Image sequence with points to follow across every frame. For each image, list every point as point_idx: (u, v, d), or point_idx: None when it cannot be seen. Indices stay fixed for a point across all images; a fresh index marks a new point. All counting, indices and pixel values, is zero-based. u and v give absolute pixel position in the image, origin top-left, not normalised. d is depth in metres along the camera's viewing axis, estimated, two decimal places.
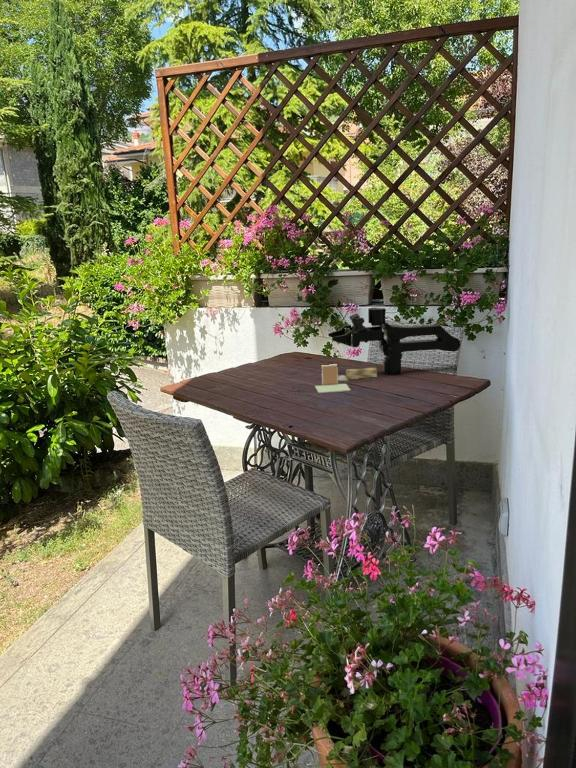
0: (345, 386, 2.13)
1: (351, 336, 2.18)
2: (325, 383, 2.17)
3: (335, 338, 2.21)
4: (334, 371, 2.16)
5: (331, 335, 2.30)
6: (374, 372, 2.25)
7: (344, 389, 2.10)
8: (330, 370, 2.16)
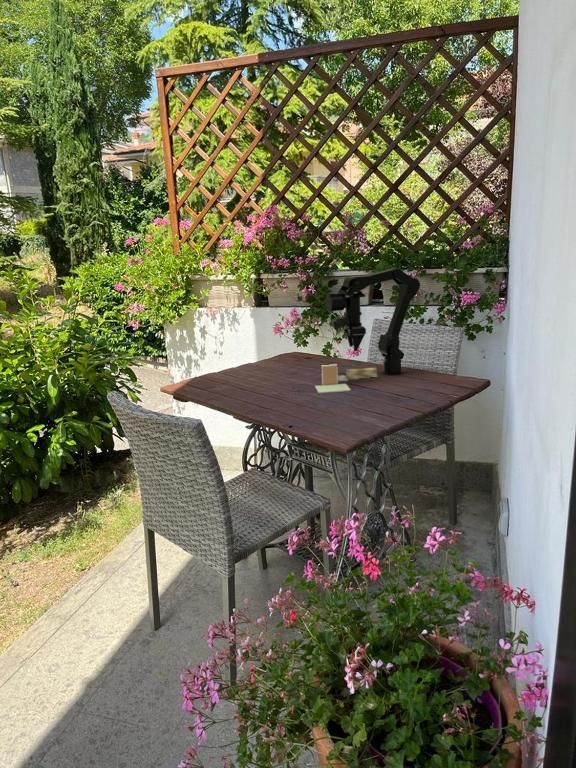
0: (345, 386, 2.13)
1: None
2: (325, 383, 2.17)
3: (355, 348, 2.18)
4: (334, 371, 2.16)
5: (351, 343, 2.27)
6: (374, 372, 2.25)
7: (344, 389, 2.10)
8: (330, 370, 2.16)
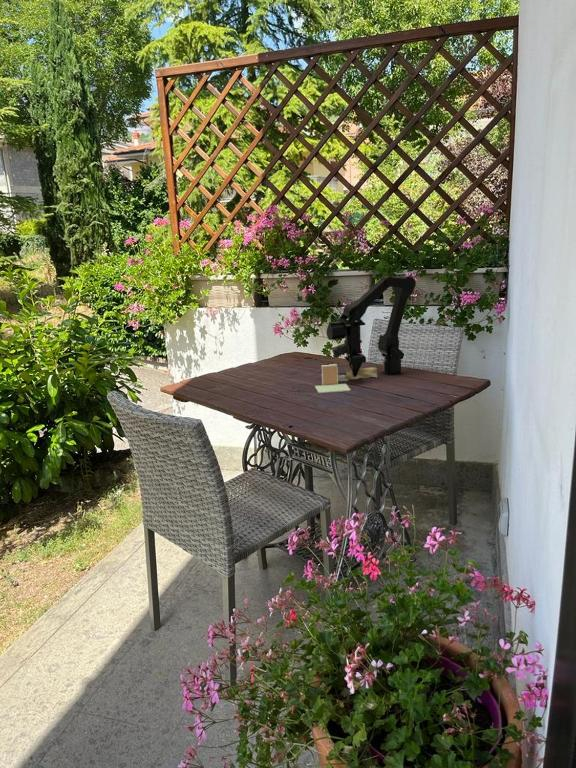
0: (345, 386, 2.13)
1: None
2: (325, 383, 2.17)
3: (354, 374, 2.24)
4: (334, 371, 2.16)
5: None
6: (374, 372, 2.25)
7: (344, 389, 2.10)
8: (330, 370, 2.16)
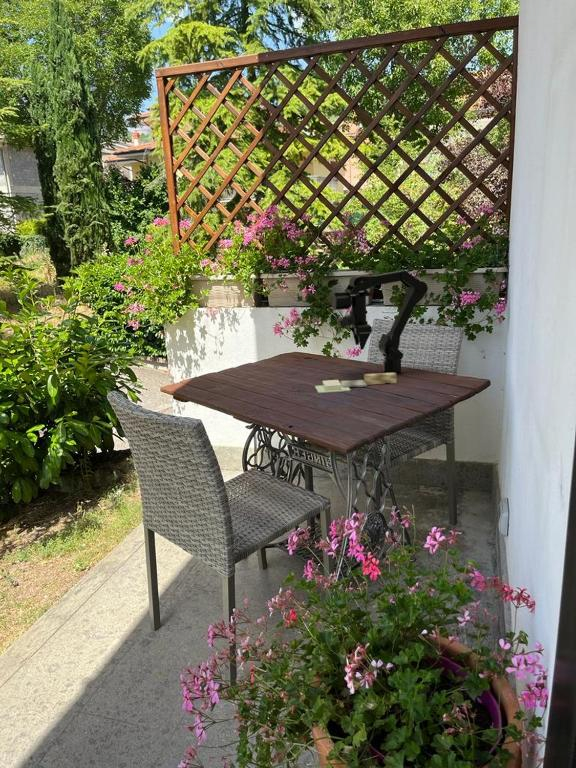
0: None
1: (360, 333, 2.16)
2: None
3: (361, 346, 2.20)
4: None
5: (357, 341, 2.30)
6: (393, 377, 2.15)
7: (344, 389, 2.10)
8: None
